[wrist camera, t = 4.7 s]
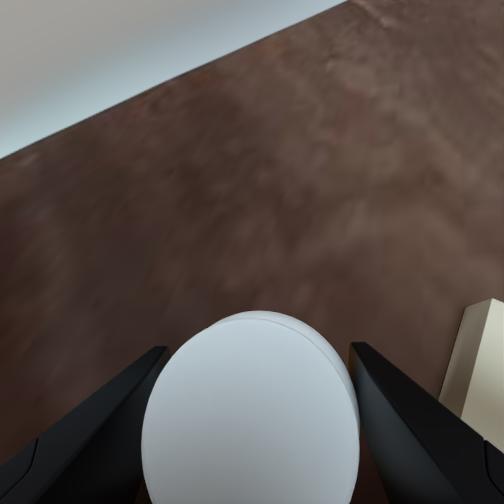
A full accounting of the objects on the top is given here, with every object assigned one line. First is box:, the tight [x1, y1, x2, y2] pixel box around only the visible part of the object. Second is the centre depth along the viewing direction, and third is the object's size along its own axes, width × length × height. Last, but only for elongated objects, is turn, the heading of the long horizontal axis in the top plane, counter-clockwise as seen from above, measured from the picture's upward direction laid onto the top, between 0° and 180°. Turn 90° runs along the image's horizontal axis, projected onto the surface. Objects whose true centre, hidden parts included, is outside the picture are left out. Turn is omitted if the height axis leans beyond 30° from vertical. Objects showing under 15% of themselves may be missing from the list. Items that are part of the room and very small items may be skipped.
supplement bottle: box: [141, 311, 360, 504], centre depth 9 cm, size 5×5×10 cm
